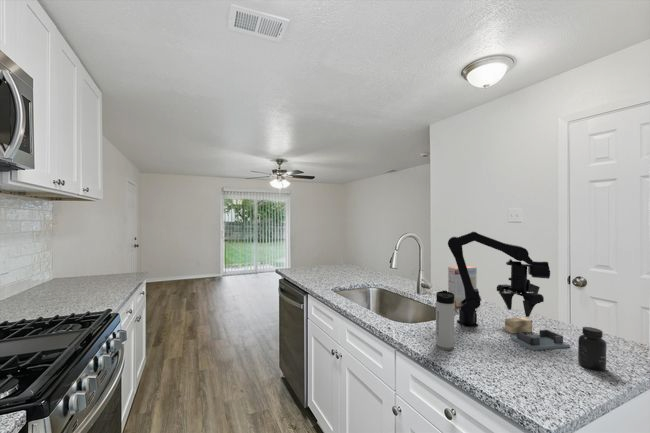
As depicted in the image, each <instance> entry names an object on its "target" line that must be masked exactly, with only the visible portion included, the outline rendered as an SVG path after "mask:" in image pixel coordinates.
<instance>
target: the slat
mask: <svg viewBox="0 0 650 433" xmlns="http://www.w3.org/2000/svg"><path fill="white" fill-rule="evenodd" d="M504 331H506V332H508V333H510V334H517V332H520V331H525V332H526V333H533V319H530V318H529V317H511V318H504Z"/></svg>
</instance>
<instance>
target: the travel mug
mask: <svg viewBox="0 0 650 433" xmlns="http://www.w3.org/2000/svg"><path fill="white" fill-rule="evenodd" d="M435 296H436V298H435V299H436V300H435V346H436V347H437V349H439V350H442V351H452V350H454V349H455V308H454V294H453V293H451V292H448V290H442V291H441V290H440V291H437V292H436V294H435Z"/></svg>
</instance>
